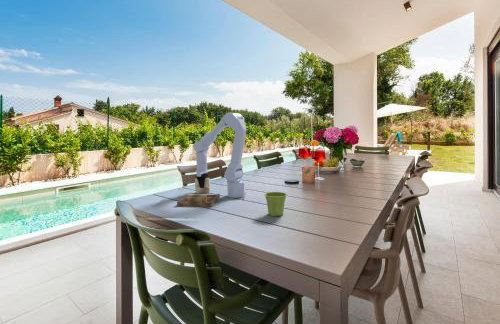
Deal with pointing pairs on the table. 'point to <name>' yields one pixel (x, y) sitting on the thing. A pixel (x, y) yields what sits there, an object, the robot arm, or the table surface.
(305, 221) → the table surface
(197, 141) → the robot arm
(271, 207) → the plant pot
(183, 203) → the walnut rack
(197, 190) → the birch block
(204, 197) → the oak offcuts
